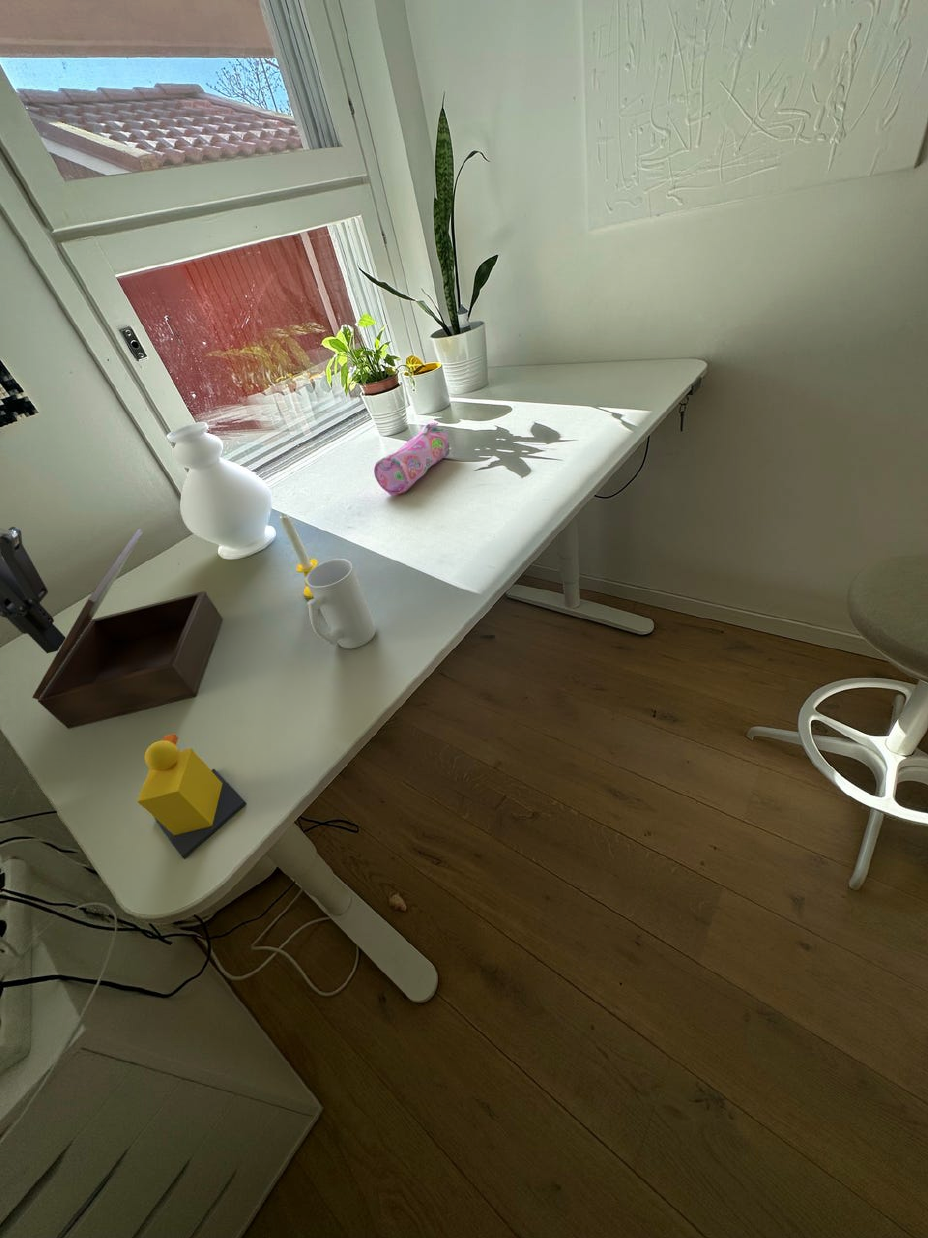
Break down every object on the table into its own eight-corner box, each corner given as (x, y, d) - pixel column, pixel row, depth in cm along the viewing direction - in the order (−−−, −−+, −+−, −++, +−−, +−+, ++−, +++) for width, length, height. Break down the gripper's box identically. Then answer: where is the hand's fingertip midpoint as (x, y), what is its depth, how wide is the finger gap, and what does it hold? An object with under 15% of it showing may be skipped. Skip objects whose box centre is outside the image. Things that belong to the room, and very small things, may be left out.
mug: (351, 618, 84) (324, 556, 76) (385, 623, 81) (361, 560, 74) (314, 661, 78) (281, 599, 70) (350, 669, 75) (319, 605, 67)
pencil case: (426, 455, 131) (417, 419, 125) (457, 455, 126) (449, 419, 120) (377, 496, 117) (365, 458, 112) (410, 499, 113) (398, 460, 107)
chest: (223, 618, 92) (204, 590, 88) (196, 696, 77) (172, 666, 73) (114, 646, 92) (91, 619, 88) (67, 729, 77) (37, 701, 73)
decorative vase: (282, 513, 121) (231, 404, 105) (293, 545, 108) (236, 426, 92) (206, 540, 118) (142, 433, 102) (207, 577, 104) (133, 459, 89)
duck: (174, 835, 58) (119, 785, 52) (190, 782, 64) (142, 731, 57) (212, 826, 58) (161, 775, 52) (225, 773, 64) (180, 721, 57)
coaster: (184, 859, 56) (181, 857, 56) (156, 819, 61) (153, 817, 61) (246, 803, 60) (244, 801, 60) (215, 770, 65) (213, 768, 65)
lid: (144, 530, 80) (138, 527, 79) (94, 602, 65) (87, 599, 65) (92, 618, 88) (87, 616, 87) (38, 699, 73) (31, 697, 73)
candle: (321, 578, 95) (286, 502, 86) (338, 585, 92) (304, 507, 83) (298, 594, 93) (260, 518, 83) (315, 602, 90) (277, 524, 80)
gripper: (-15, 462, 60) (112, 617, 75) (-124, 491, 60) (24, 640, 75) (-56, 489, 54) (91, 651, 69) (-177, 521, 54) (-4, 676, 69)
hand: (56, 645), depth 72 cm, fingers closed
